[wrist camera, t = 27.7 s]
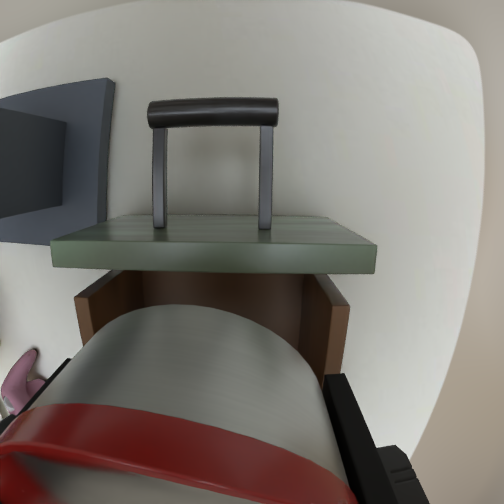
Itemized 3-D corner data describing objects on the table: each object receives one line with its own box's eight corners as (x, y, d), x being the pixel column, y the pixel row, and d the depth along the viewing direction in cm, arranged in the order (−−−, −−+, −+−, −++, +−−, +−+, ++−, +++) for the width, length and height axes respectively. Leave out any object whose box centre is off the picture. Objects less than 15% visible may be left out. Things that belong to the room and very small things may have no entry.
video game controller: (28, 354, 26) (-10, 398, 21) (30, 342, 23) (-15, 392, 18) (98, 418, 28) (65, 466, 22) (109, 413, 25) (72, 469, 19)
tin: (194, 234, 9) (91, 338, 3) (372, 421, 10) (425, 549, 4) (40, 386, 10) (-38, 481, 4) (200, 507, 12) (186, 608, 6)
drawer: (123, 124, 19) (49, 98, 11) (329, 122, 19) (381, 88, 11) (143, 394, 24) (109, 471, 15) (310, 400, 24) (329, 484, 15)
